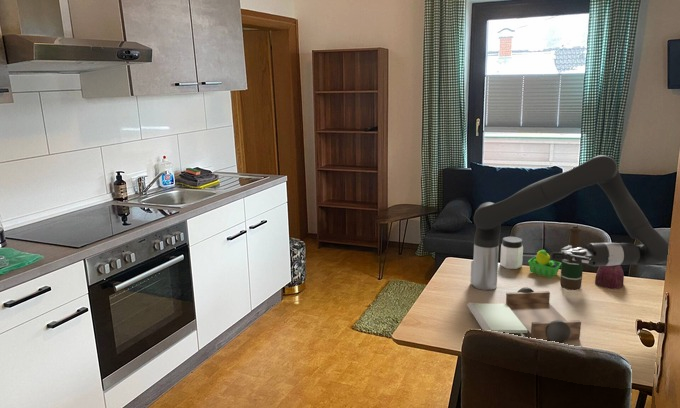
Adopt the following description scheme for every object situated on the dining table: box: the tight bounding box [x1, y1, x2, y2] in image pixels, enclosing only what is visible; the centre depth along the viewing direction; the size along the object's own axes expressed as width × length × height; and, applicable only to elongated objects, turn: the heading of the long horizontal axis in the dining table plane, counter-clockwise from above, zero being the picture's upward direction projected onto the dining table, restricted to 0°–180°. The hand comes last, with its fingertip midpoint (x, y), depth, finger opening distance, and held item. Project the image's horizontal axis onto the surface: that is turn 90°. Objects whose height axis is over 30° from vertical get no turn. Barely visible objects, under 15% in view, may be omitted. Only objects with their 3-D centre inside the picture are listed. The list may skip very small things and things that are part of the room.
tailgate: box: [467, 301, 528, 334], centre depth 167 cm, size 2×19×14 cm
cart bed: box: [505, 286, 582, 344], centre depth 167 cm, size 15×27×7 cm, turn 2°
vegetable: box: [594, 265, 625, 290], centre depth 195 cm, size 10×10×15 cm
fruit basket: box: [527, 249, 562, 279], centre depth 207 cm, size 11×9×11 cm
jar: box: [499, 236, 524, 270], centre depth 217 cm, size 9×8×12 cm
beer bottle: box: [559, 226, 584, 291], centre depth 193 cm, size 8×8×24 cm
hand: (551, 255), depth 162 cm, fingers closed
